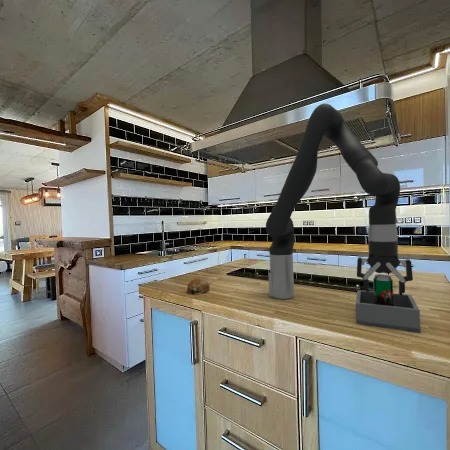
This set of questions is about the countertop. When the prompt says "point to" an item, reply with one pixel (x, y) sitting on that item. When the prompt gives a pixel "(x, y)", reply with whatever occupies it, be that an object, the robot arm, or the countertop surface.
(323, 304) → the countertop surface
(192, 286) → the bread roll
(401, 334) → the countertop surface
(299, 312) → the countertop surface
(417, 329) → the bin
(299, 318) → the countertop surface
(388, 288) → the soda can
